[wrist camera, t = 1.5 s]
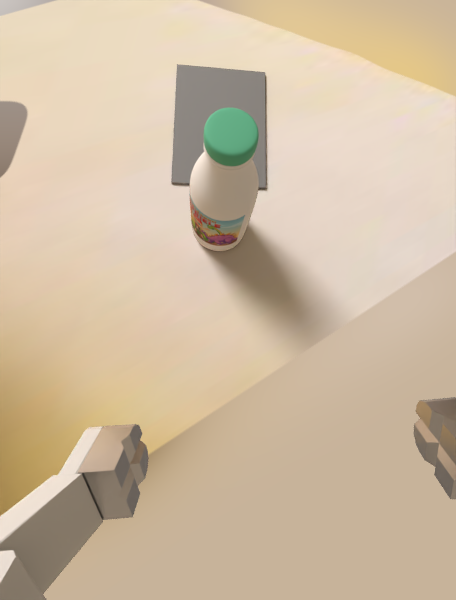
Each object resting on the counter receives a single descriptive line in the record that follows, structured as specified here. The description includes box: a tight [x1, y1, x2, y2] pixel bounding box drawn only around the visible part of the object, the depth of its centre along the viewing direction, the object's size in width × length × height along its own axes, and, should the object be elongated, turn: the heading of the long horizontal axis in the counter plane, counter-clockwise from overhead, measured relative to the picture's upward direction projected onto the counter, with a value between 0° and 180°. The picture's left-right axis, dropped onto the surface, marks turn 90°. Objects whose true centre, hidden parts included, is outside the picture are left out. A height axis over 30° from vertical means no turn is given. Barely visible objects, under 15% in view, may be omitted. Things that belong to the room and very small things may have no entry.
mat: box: [172, 64, 266, 189], centre depth 47 cm, size 20×14×1 cm
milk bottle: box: [190, 108, 259, 251], centre depth 35 cm, size 8×8×20 cm
